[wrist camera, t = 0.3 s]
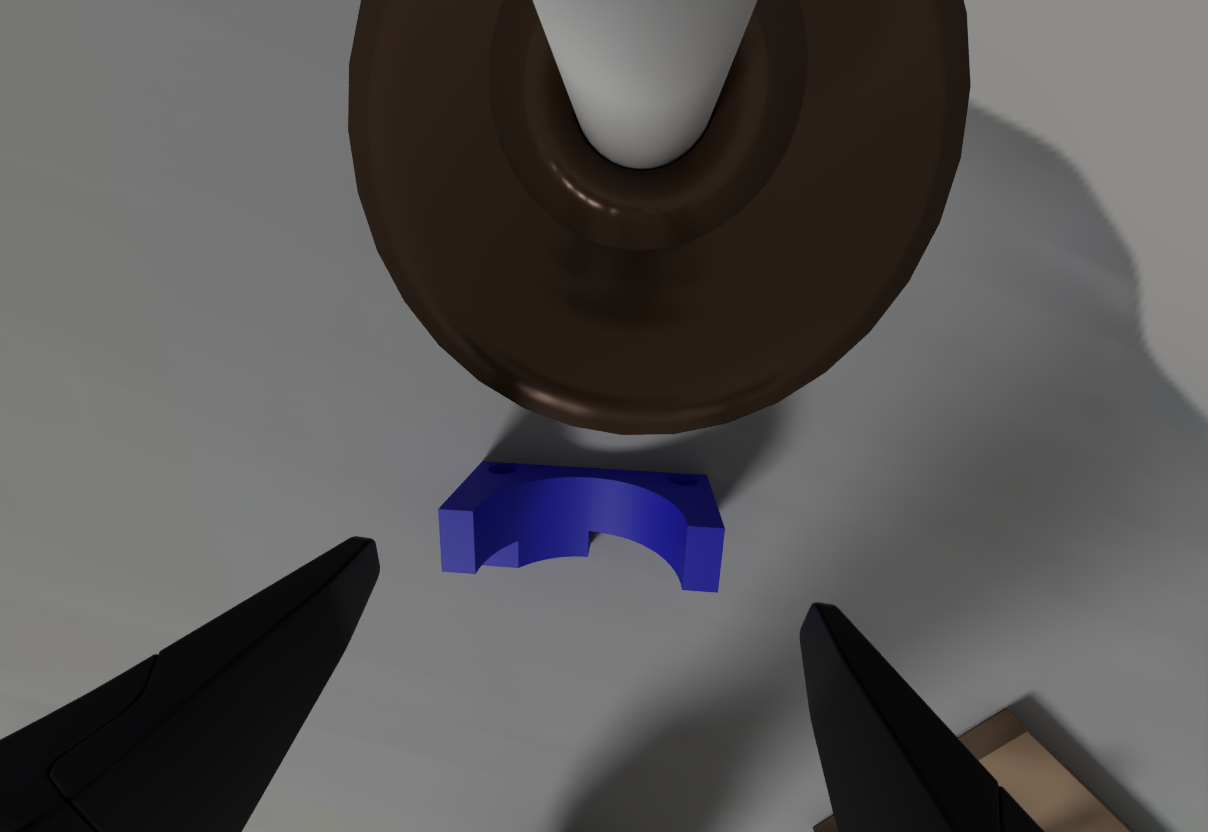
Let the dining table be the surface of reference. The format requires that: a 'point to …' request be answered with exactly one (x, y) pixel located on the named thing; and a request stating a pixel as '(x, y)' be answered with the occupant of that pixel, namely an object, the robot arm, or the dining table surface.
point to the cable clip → (580, 518)
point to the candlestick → (654, 188)
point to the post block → (1032, 779)
